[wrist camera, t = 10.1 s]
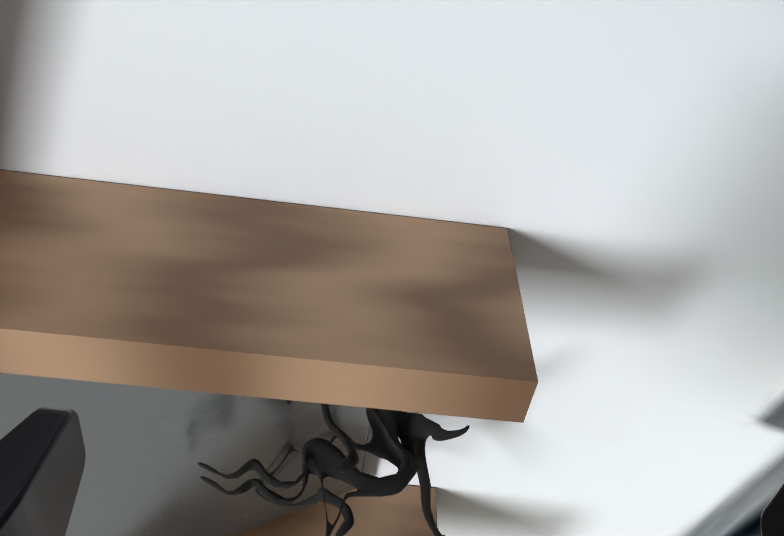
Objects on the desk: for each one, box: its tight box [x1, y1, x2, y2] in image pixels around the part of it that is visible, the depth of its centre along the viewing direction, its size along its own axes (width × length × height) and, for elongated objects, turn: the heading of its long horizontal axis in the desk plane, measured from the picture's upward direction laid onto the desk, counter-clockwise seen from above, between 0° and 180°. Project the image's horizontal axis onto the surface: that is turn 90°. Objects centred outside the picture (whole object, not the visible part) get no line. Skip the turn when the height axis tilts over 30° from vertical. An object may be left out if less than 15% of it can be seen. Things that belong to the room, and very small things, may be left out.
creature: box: [198, 400, 469, 536], centre depth 24 cm, size 8×5×8 cm
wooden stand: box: [0, 170, 538, 536], centre depth 24 cm, size 16×15×6 cm
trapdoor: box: [0, 373, 370, 536], centre depth 24 cm, size 12×11×1 cm
